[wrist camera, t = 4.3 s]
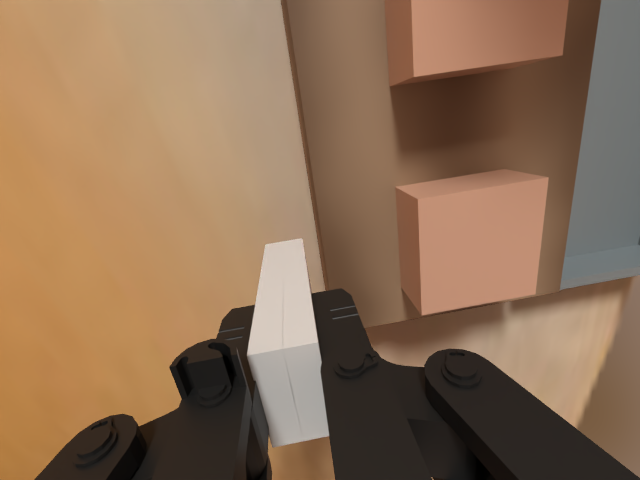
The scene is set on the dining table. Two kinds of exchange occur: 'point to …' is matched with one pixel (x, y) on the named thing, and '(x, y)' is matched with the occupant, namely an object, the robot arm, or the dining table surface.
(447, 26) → the tile
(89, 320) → the dining table surface
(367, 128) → the brown flat block
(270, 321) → the robot arm
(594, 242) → the tray
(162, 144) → the dining table surface
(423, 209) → the tile
